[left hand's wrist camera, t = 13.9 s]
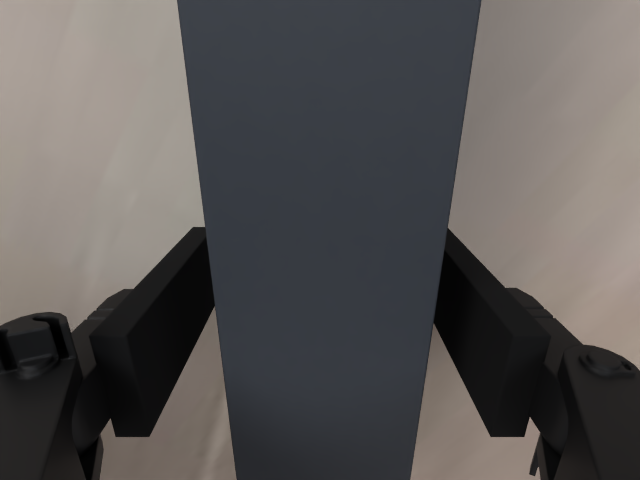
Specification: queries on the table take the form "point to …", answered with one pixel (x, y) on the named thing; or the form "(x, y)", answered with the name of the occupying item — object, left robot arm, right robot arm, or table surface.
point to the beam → (326, 218)
